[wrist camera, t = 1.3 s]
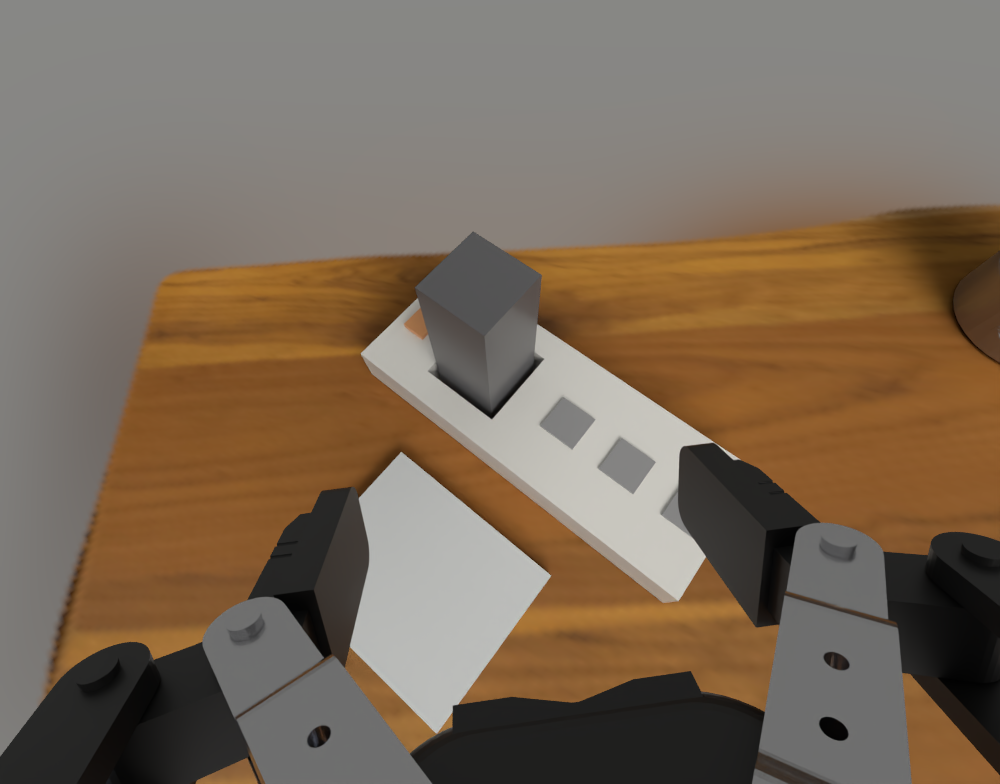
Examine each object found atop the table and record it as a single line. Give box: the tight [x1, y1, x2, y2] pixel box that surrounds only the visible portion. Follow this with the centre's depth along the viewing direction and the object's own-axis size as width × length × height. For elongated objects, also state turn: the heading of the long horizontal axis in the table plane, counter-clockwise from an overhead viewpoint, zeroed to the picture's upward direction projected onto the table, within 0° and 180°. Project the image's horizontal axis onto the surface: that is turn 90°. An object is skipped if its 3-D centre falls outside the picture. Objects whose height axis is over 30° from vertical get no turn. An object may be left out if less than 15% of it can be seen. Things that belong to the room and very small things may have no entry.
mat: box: [350, 452, 551, 734], centre depth 30 cm, size 10×12×1 cm
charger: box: [415, 232, 542, 419], centre depth 31 cm, size 4×4×12 cm
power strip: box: [361, 298, 740, 603], centre depth 33 cm, size 9×24×3 cm, turn 51°
